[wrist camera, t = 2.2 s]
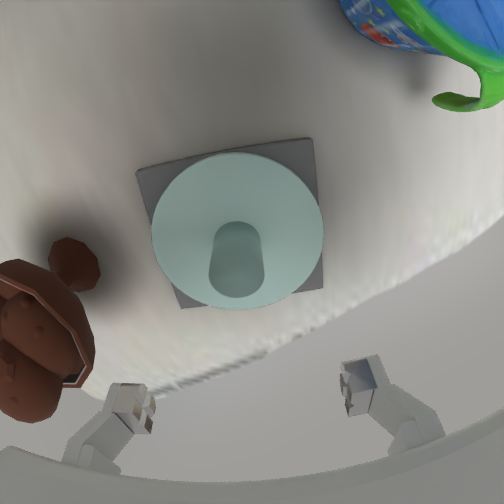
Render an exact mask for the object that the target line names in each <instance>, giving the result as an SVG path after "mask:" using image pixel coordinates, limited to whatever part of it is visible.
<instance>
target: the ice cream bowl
mask: <svg viewBox="0 0 504 504" xmlns="http://www.w3.org/2000/svg"><path fill="white" fill-rule="evenodd" d="M48 262H49V265H50V269H51V272H50V271H48V270H46V269H43V268H41V267H38V266H36V265H34V264H31V263H29V262H26V261H23V260H21V259H14V260H9V261H5V262H3V263H1V264H0V409H1V411H2V412H3V413H5V414H7V415H8V416H10V417H12V418H14V419H15V420H17V421H22V422H27V423H35V422H39V421H42V420H45V419H47V418H49V417H51V416H52V415H53V413H54V412H55V410H56V409H57V406H58V402H59V399H60V395H61V391H62V388H81V386H82V385H83V383H84V382H85V380H86V379H87V377H88V376H89V374H90V373H91V371H92V369H93V364H94V358H95V344H94V336H93V334H92V331H91V328H90V325H89V322H88V320H87V317H86V314H85V311H84V308H83V305H82V303H81V301H80V300H79V298H78V297H77V295H76V294H75V293H74V292H73V291H76V292H82V291H86V290H90V289H92V288H94V286H95V285H96V283H97V281H98V279H99V277H100V270H99V266H98V261H97V258H96V257H95V256H94V254H93V253H92V252H91V251H90V250H89V249H88V248H87V246H86V245H85V244H84V243H82V242H79V241H76V240H73V239H71V238H68V237H66V238H64V239H61V240H58V241H56V242H54V243H53V246H52V249H51V251H50V254H49V257H48ZM72 290H73V291H72Z"/></svg>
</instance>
